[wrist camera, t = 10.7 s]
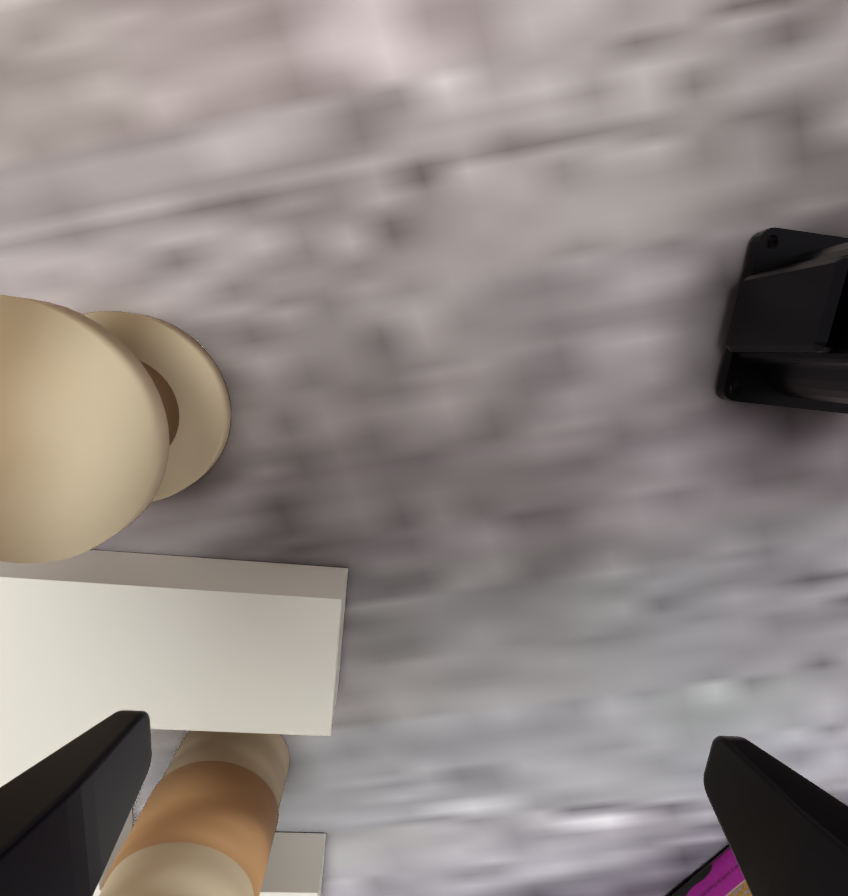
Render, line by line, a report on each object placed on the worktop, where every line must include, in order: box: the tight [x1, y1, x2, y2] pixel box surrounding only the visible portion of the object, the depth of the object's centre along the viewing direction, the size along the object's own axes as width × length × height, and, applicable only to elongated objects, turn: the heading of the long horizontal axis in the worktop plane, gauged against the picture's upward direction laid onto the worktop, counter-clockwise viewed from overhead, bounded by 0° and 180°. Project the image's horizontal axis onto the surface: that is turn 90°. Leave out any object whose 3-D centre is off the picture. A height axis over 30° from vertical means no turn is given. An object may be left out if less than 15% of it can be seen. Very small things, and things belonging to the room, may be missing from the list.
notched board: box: [0, 550, 348, 896], centre depth 20 cm, size 13×20×2 cm, turn 174°
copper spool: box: [99, 730, 290, 896], centre depth 17 cm, size 5×5×8 cm
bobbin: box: [0, 295, 231, 563], centre depth 15 cm, size 7×7×6 cm
